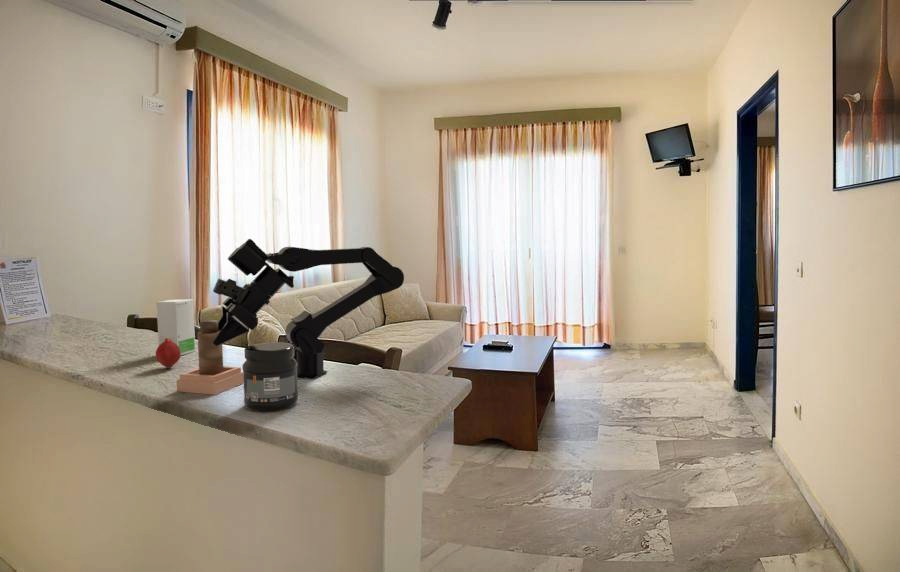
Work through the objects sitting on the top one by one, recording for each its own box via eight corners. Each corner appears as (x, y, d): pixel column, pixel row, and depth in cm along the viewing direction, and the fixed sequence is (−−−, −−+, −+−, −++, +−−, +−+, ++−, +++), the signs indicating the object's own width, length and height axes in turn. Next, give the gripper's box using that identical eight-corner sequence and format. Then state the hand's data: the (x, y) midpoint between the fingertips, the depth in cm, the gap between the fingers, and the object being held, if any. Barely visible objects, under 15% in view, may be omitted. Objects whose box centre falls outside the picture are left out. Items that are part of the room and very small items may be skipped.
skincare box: (177, 357, 157) (174, 302, 155) (157, 356, 158) (154, 301, 157) (196, 351, 165) (194, 298, 164) (177, 350, 166) (174, 298, 165)
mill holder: (244, 382, 130) (244, 367, 129) (215, 394, 120) (214, 377, 120) (208, 379, 132) (207, 364, 132) (177, 391, 123) (176, 374, 123)
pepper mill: (226, 372, 129) (224, 319, 127) (219, 378, 124) (217, 322, 123) (204, 373, 128) (201, 319, 127) (196, 379, 123) (193, 323, 122)
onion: (156, 366, 145) (154, 336, 145) (181, 364, 148) (179, 334, 147) (156, 371, 140) (154, 340, 140) (181, 369, 143) (180, 338, 142)
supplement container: (275, 394, 120) (273, 339, 119) (309, 402, 114) (308, 345, 113) (232, 407, 111) (230, 348, 110) (267, 417, 105) (265, 354, 104)
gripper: (230, 263, 135) (182, 312, 131) (239, 267, 118) (184, 323, 114) (266, 294, 139) (220, 342, 135) (279, 302, 122) (227, 357, 118)
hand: (213, 340), depth 126 cm, fingers open, 9 cm apart
